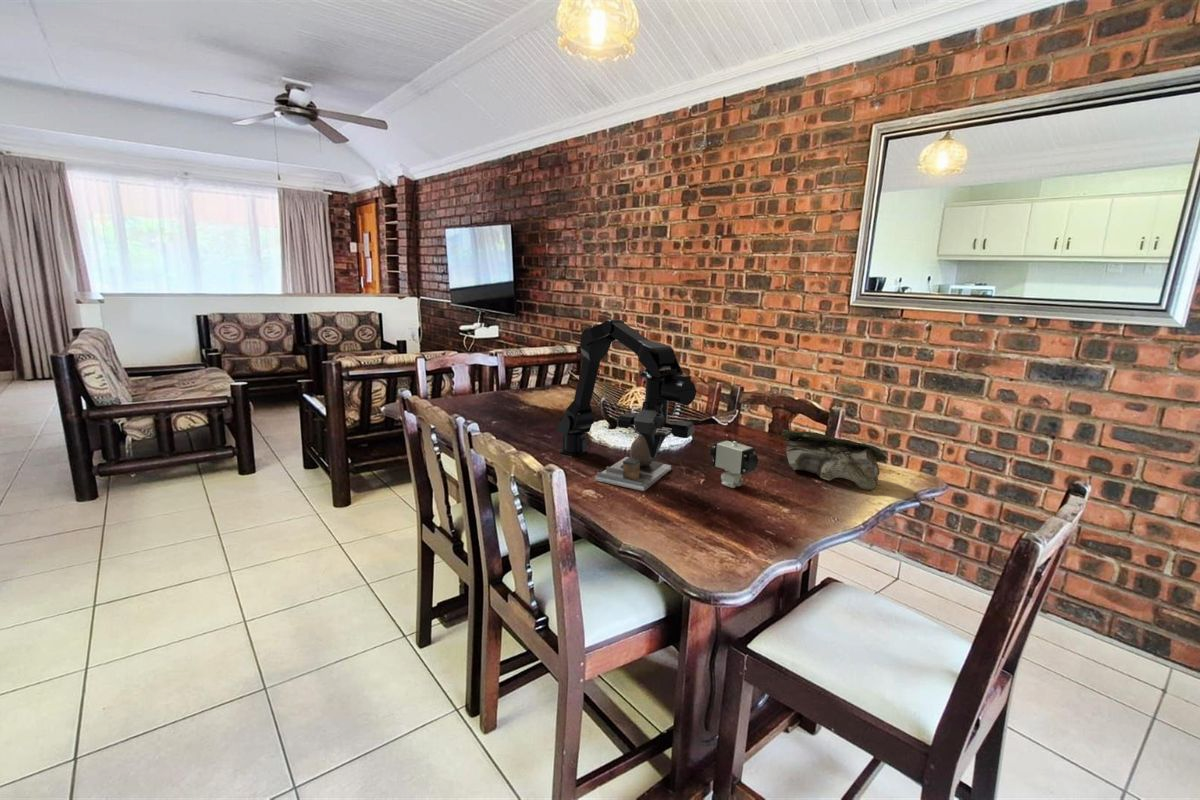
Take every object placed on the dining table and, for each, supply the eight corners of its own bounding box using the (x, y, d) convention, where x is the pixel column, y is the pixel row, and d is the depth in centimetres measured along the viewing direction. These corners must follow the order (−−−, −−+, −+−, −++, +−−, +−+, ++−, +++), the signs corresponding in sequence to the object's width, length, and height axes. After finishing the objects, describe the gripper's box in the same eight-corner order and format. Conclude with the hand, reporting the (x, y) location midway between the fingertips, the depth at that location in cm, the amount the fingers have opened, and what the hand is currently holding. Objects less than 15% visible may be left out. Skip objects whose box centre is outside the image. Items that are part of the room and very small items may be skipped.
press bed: (595, 480, 142) (595, 472, 141) (626, 460, 158) (626, 453, 158) (643, 491, 136) (644, 483, 135) (671, 469, 152) (671, 462, 151)
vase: (654, 469, 148) (656, 438, 146) (629, 468, 148) (630, 437, 146) (653, 460, 154) (654, 431, 152) (629, 459, 154) (630, 430, 153)
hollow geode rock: (776, 480, 159) (763, 452, 149) (790, 445, 164) (779, 416, 154) (879, 505, 141) (872, 475, 131) (892, 464, 146) (886, 433, 136)
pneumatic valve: (745, 494, 136) (749, 448, 133) (707, 481, 144) (710, 437, 141) (757, 489, 139) (761, 444, 137) (719, 476, 148) (723, 434, 145)
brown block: (622, 480, 139) (623, 461, 138) (628, 475, 142) (629, 457, 141) (633, 482, 138) (634, 463, 137) (639, 478, 141) (640, 459, 140)
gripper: (607, 398, 130) (605, 459, 133) (681, 408, 121) (677, 474, 125) (627, 390, 139) (625, 448, 143) (697, 399, 131) (692, 460, 134)
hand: (653, 457), depth 136 cm, fingers closed
